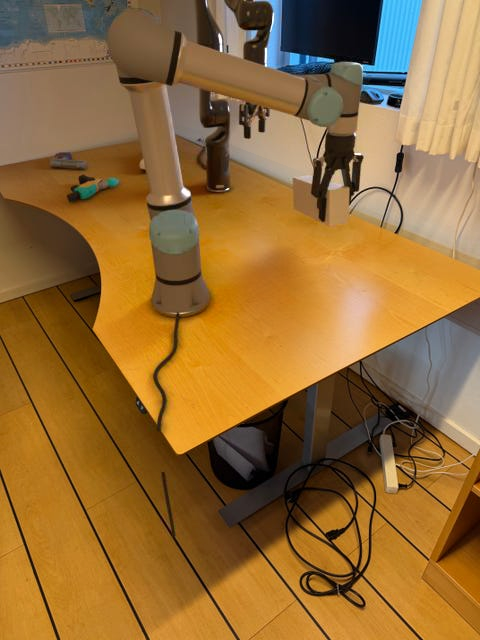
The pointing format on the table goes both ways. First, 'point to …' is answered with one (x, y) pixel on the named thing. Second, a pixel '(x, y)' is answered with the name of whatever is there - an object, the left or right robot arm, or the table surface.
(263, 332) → the table surface
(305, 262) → the table surface
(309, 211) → the box
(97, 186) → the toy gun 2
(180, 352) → the table surface
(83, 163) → the toy gun
